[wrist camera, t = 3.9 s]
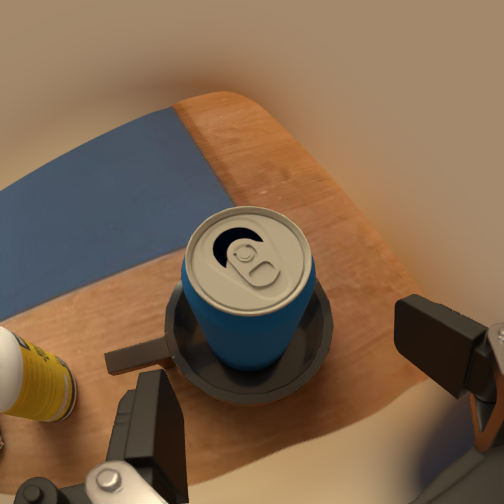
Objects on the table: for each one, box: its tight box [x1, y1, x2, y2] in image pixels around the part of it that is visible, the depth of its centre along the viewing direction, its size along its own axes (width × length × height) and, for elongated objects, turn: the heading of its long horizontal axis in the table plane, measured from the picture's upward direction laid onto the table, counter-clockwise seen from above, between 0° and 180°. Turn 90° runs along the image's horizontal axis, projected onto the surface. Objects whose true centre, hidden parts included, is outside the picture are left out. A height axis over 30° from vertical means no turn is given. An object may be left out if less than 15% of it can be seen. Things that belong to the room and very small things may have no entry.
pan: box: [165, 278, 333, 407], centre depth 22 cm, size 12×12×4 cm
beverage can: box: [181, 206, 316, 371], centre depth 18 cm, size 6×6×12 cm
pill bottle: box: [0, 326, 77, 422], centre depth 15 cm, size 6×6×12 cm
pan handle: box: [104, 336, 176, 376], centre depth 20 cm, size 5×2×4 cm, turn 111°
